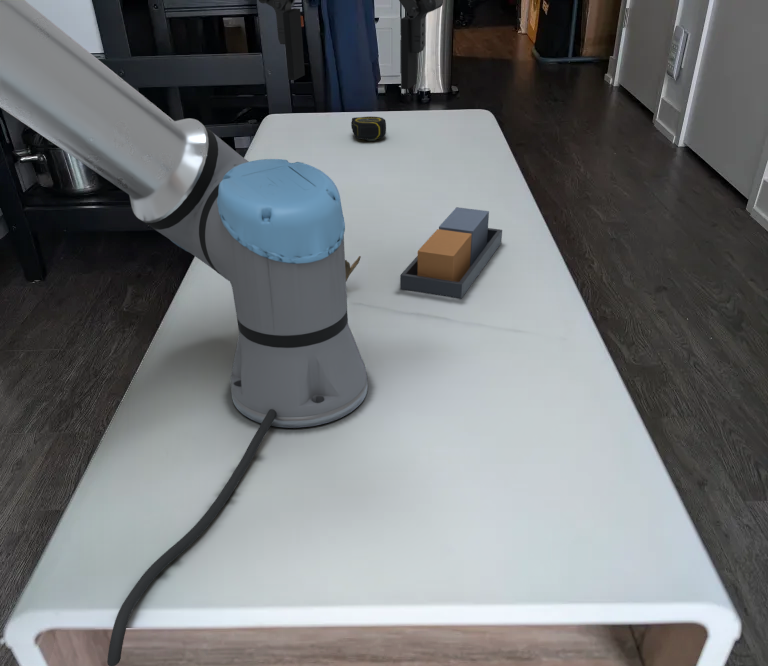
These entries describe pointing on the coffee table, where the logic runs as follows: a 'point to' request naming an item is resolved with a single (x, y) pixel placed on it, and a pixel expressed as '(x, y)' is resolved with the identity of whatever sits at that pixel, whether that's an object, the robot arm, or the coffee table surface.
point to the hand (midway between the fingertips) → (351, 82)
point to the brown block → (445, 255)
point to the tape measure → (368, 128)
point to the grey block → (469, 227)
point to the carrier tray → (447, 287)
